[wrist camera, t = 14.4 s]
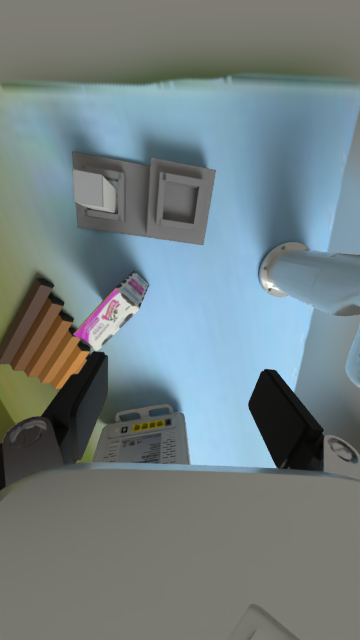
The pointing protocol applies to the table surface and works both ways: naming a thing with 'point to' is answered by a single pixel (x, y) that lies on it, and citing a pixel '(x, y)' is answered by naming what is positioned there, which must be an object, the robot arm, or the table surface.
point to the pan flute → (43, 339)
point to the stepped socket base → (151, 198)
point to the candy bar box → (113, 312)
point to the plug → (94, 192)
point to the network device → (145, 439)
